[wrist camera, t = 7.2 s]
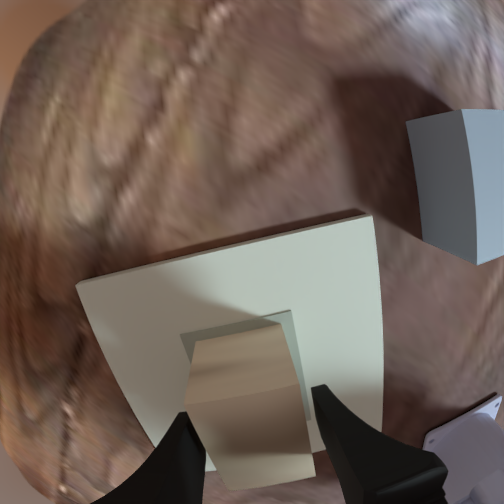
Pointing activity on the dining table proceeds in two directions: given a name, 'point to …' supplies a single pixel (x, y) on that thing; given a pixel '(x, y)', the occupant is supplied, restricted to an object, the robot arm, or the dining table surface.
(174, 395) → the plate
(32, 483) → the dining table surface
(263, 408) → the birch brick
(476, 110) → the slate brick
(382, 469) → the robot arm
